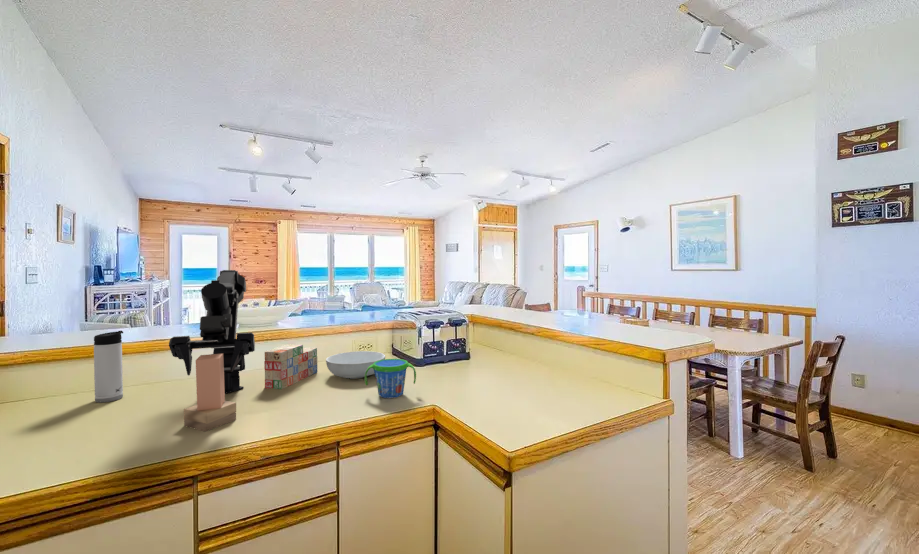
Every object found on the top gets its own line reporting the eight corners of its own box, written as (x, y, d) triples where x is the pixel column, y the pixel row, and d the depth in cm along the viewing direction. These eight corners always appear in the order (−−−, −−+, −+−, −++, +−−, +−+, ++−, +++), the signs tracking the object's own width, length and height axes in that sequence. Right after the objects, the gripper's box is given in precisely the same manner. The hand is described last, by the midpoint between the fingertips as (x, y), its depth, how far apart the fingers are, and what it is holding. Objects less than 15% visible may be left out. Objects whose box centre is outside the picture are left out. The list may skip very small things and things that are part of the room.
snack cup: (361, 400, 118) (360, 366, 118) (369, 389, 128) (369, 358, 128) (413, 401, 118) (413, 366, 117) (417, 390, 128) (418, 358, 128)
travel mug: (125, 398, 119) (124, 331, 118) (96, 404, 114) (94, 334, 113) (122, 394, 123) (121, 329, 123) (93, 399, 118) (92, 332, 118)
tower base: (184, 428, 99) (184, 418, 99) (215, 417, 106) (215, 408, 106) (205, 434, 96) (205, 423, 96) (236, 422, 103) (236, 412, 103)
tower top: (183, 419, 98) (183, 409, 98) (213, 408, 106) (213, 398, 106) (207, 423, 96) (207, 413, 96) (236, 412, 103) (236, 402, 103)
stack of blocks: (302, 371, 151) (302, 339, 150) (317, 372, 149) (317, 339, 149) (264, 388, 130) (264, 350, 129) (281, 389, 128) (281, 351, 128)
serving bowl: (367, 365, 160) (367, 348, 160) (396, 376, 145) (396, 357, 145) (316, 374, 146) (316, 356, 146) (342, 387, 131) (342, 366, 130)
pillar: (202, 403, 102) (200, 355, 101) (224, 400, 104) (223, 353, 103) (197, 410, 97) (195, 360, 96) (220, 408, 99) (219, 358, 98)
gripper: (170, 304, 100) (157, 358, 90) (253, 302, 107) (249, 351, 98) (178, 331, 108) (167, 383, 98) (256, 327, 115) (253, 375, 105)
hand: (210, 372), depth 99 cm, fingers open, 9 cm apart
